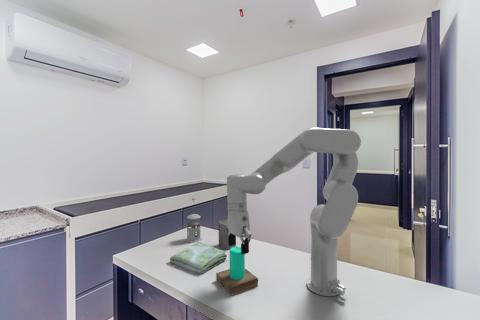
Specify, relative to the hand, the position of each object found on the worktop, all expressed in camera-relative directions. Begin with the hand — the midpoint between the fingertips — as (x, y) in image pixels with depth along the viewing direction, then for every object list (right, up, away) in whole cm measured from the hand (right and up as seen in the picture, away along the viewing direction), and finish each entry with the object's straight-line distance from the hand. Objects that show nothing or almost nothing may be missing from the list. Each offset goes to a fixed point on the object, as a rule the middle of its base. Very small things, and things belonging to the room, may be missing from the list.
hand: (238, 249), depth 94 cm
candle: (-1, -11, 0) cm, 11 cm away
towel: (-19, -14, +20) cm, 30 cm away
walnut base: (-1, -14, 0) cm, 14 cm away
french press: (-27, -12, +48) cm, 56 cm away
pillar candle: (-6, -13, +38) cm, 41 cm away
